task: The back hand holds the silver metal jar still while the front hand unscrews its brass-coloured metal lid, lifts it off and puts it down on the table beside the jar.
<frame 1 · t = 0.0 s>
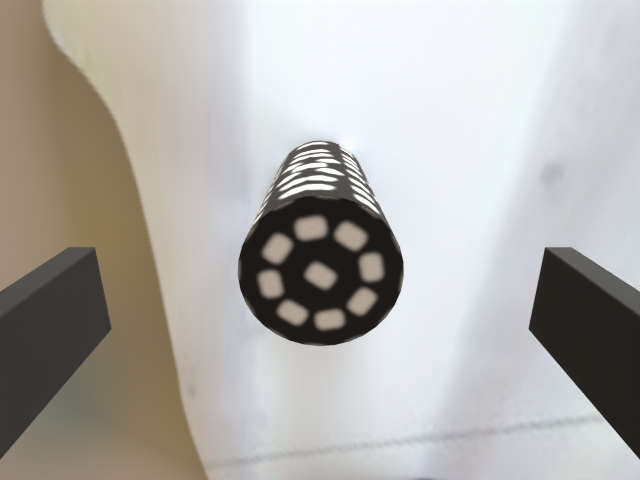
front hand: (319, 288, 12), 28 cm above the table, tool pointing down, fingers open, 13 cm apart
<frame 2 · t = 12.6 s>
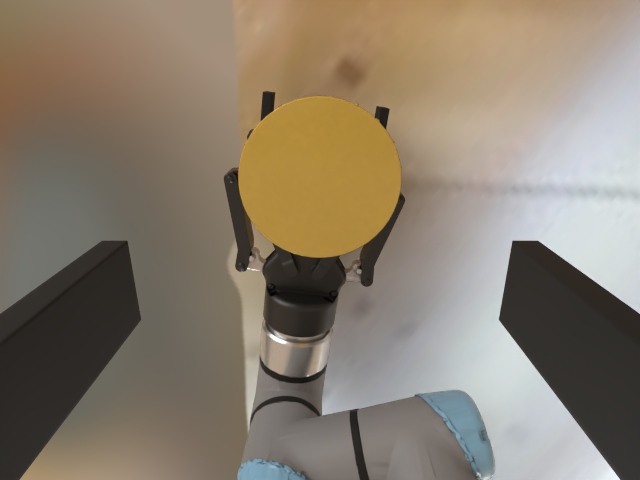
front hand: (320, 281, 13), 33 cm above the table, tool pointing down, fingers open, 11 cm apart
back hand: (326, 99, 36), fingers closed on jar, 9 cm apart
lid: (319, 181, 26), point 19 cm above the table, screwed on, not yet turned
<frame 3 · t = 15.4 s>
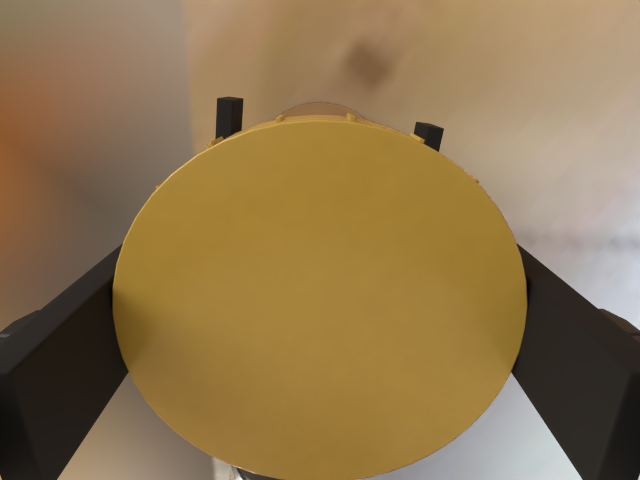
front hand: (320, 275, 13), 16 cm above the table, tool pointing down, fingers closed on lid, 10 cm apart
lid: (319, 325, 11), point 19 cm above the table, screwed on, not yet turned, touching front hand
jar: (319, 173, 28), on the table, touching back hand
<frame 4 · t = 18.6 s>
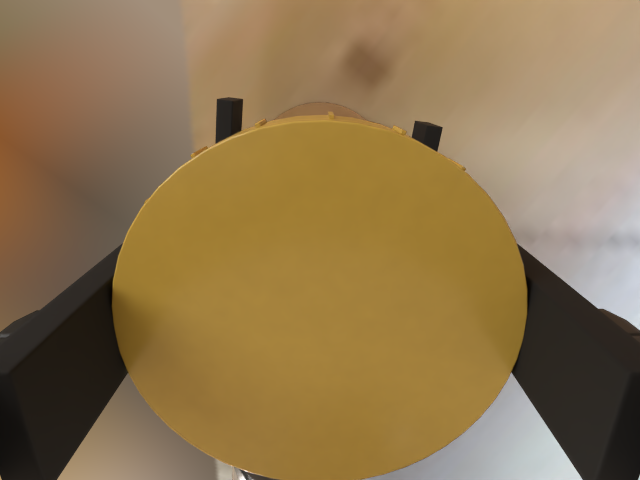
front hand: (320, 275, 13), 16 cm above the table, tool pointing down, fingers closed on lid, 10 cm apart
lid: (319, 325, 11), point 19 cm above the table, turned 95° so far, risen 0.1 cm, still on its thread, touching front hand
jar: (319, 173, 29), on the table, touching back hand
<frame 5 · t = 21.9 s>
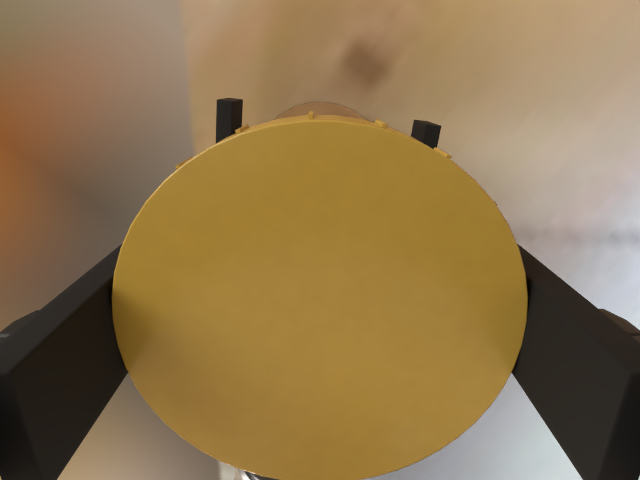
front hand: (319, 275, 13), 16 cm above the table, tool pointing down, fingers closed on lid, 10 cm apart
lid: (319, 325, 11), point 19 cm above the table, turned 189° so far, risen 0.3 cm, still on its thread, touching front hand
jar: (319, 172, 29), on the table, touching back hand
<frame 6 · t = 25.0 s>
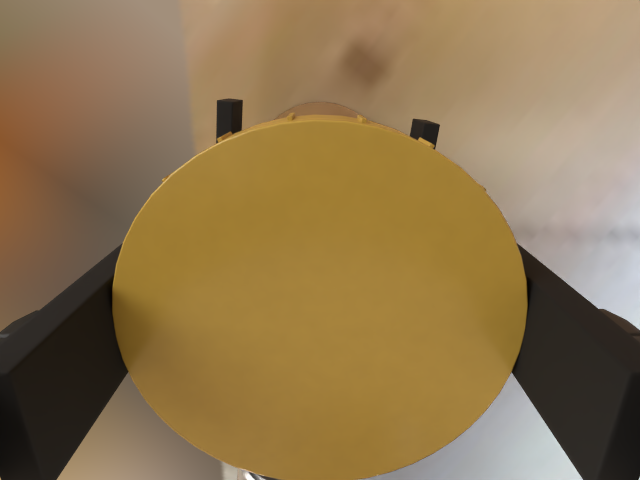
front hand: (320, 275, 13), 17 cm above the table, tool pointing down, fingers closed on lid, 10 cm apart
lid: (319, 325, 11), point 20 cm above the table, turned 284° so far, risen 0.4 cm, still on its thread, touching front hand
jar: (319, 172, 29), on the table, touching back hand
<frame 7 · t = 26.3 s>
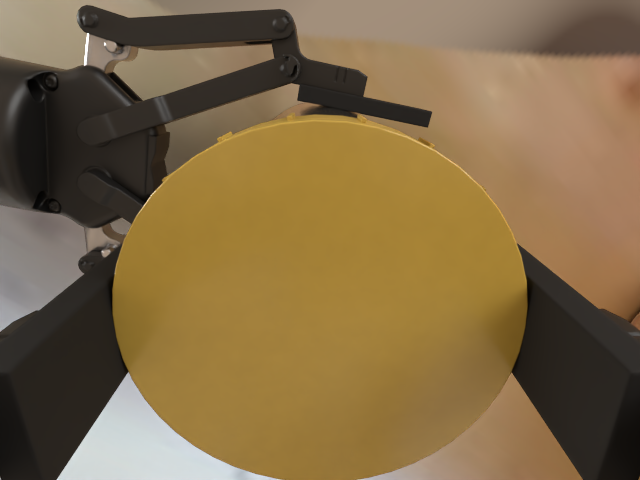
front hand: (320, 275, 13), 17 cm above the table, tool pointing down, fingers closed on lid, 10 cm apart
back hand: (398, 209, 23), fingers closed on jar, 9 cm apart
lid: (319, 325, 11), point 20 cm above the table, off its thread, touching front hand
jar: (320, 171, 29), on the table, touching back hand
when the front hand's fingers open (0 cm above the table, at t = 32.4 s): lid drops 2 cm, point 1 cm above the table.
when the back hand's fingers open (6 cm above the table, at t = 33.4 s): jar stays where it is, on the table.
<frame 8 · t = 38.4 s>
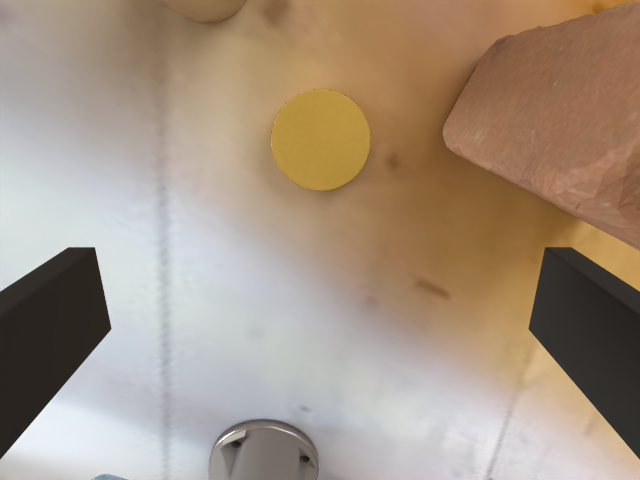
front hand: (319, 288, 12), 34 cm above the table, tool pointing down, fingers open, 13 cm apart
lid: (320, 141, 43), point 1 cm above the table, off its thread
stone: (536, 137, 44), on the table
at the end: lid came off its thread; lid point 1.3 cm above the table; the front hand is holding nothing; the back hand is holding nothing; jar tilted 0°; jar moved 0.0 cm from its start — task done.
